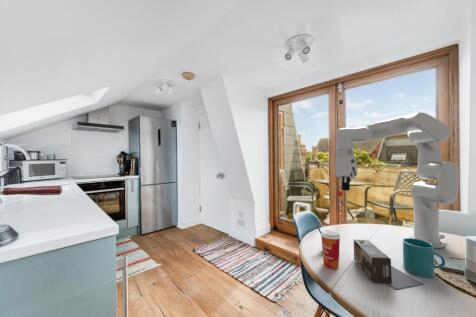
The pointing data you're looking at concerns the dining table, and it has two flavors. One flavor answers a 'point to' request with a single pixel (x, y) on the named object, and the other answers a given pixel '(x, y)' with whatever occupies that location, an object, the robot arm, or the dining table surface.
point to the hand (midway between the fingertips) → (345, 190)
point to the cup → (420, 257)
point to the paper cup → (330, 248)
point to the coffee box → (372, 261)
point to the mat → (402, 280)
